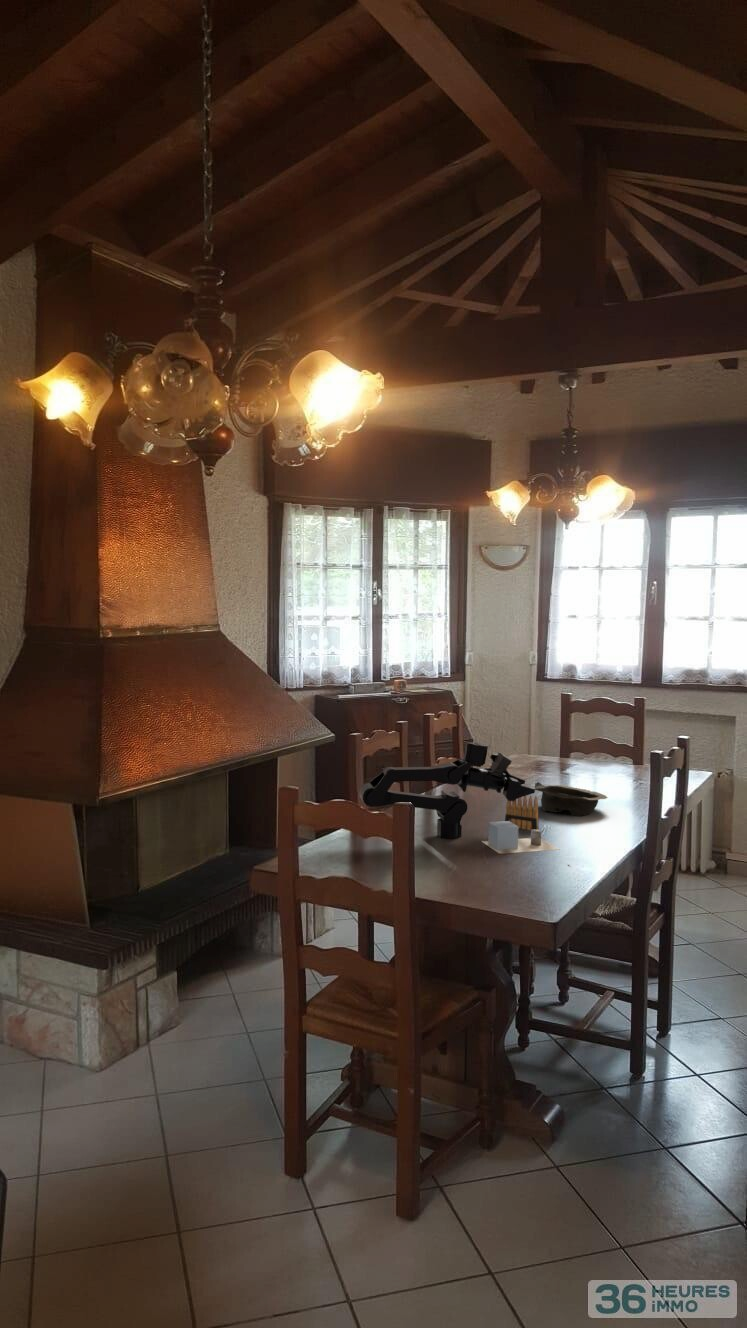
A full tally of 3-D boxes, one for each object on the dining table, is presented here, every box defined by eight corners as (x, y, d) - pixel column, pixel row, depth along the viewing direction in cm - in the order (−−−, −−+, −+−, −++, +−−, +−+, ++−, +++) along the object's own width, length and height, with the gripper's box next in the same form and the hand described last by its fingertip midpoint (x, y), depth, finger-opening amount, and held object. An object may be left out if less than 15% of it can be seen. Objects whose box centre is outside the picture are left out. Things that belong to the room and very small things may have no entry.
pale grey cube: (497, 850, 258) (497, 827, 257) (488, 844, 264) (488, 822, 263) (517, 848, 260) (518, 826, 259) (508, 842, 266) (509, 821, 265)
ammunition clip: (538, 833, 281) (539, 795, 280) (536, 834, 280) (537, 796, 279) (506, 828, 287) (507, 791, 286) (504, 829, 285) (505, 792, 284)
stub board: (499, 857, 254) (499, 839, 254) (481, 845, 267) (481, 827, 266) (560, 853, 260) (560, 835, 259) (539, 841, 272) (540, 824, 272)
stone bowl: (524, 813, 306) (525, 786, 306) (545, 804, 329) (546, 778, 329) (596, 821, 295) (598, 793, 295) (614, 811, 317) (615, 785, 317)
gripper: (496, 761, 262) (546, 770, 265) (479, 745, 280) (525, 753, 283) (487, 797, 264) (537, 806, 267) (471, 779, 282) (517, 787, 285)
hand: (529, 786), depth 275 cm, fingers open, 9 cm apart
